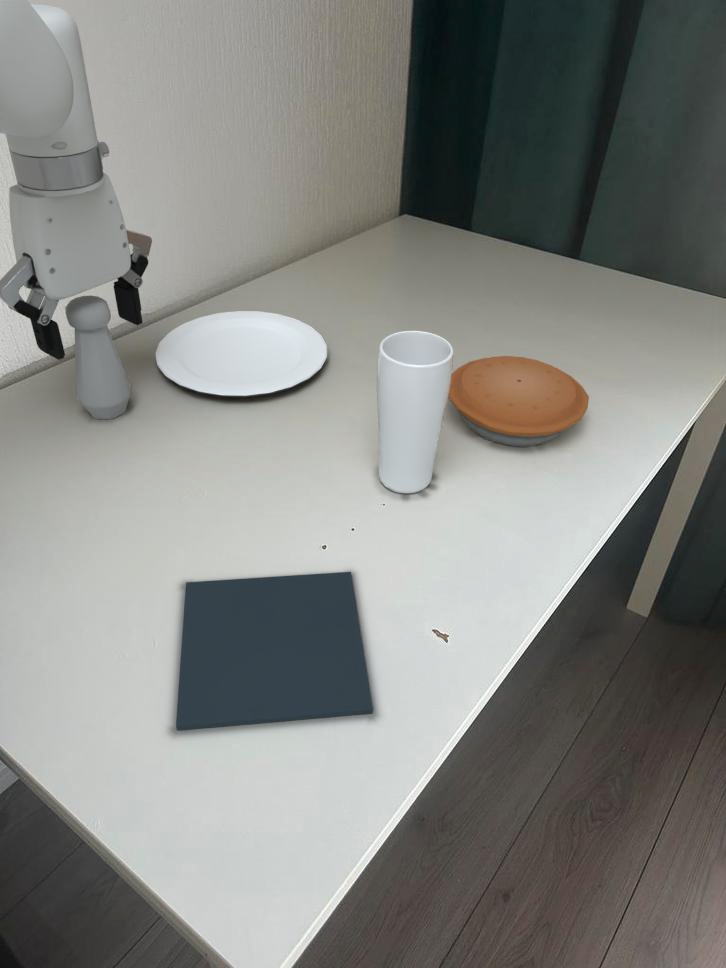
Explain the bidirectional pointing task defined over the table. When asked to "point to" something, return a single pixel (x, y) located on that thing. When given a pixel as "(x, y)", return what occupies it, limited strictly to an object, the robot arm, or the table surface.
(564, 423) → the pie
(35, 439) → the table surface
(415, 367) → the drinking glass
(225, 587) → the mat
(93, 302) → the salt shaker
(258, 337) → the plate
